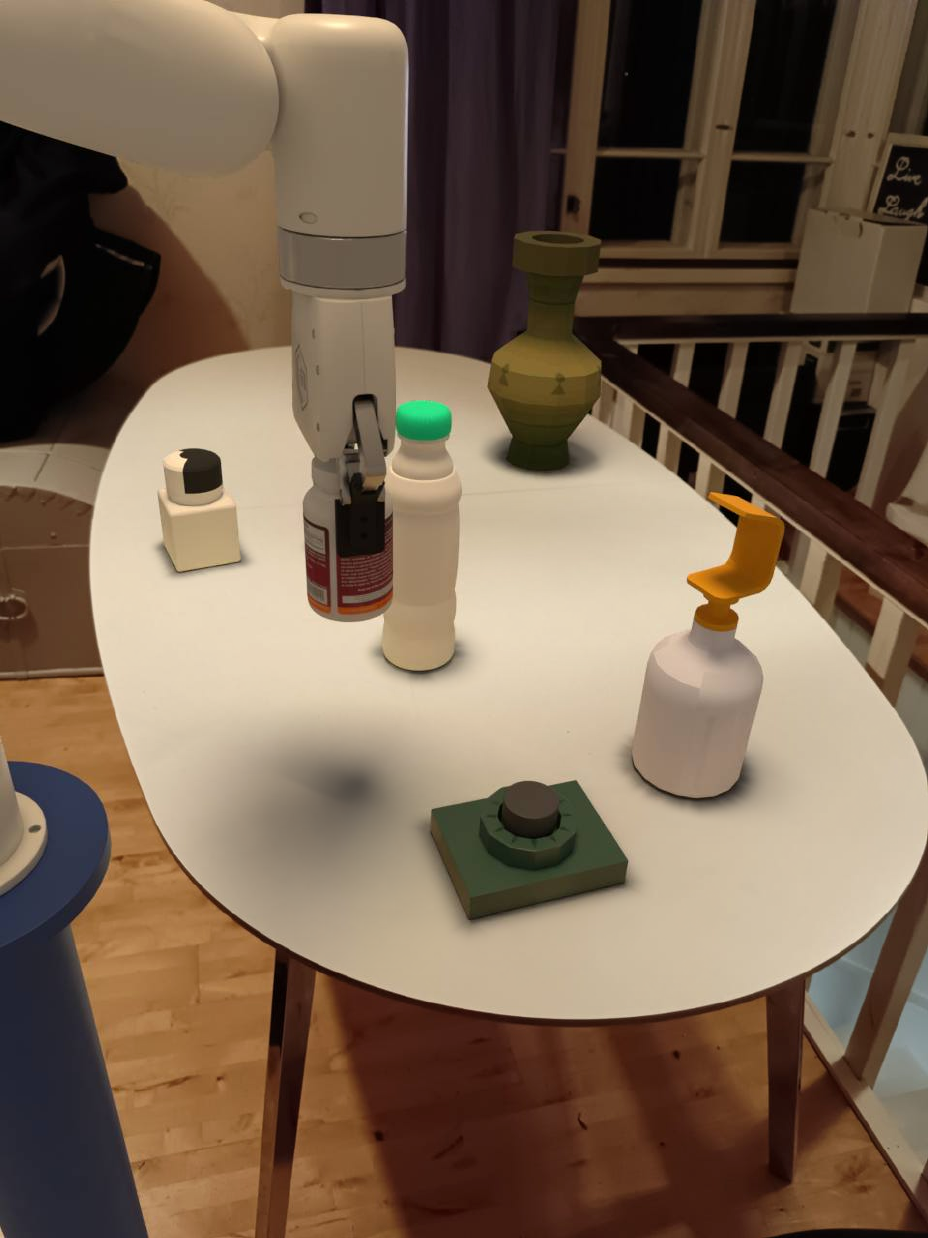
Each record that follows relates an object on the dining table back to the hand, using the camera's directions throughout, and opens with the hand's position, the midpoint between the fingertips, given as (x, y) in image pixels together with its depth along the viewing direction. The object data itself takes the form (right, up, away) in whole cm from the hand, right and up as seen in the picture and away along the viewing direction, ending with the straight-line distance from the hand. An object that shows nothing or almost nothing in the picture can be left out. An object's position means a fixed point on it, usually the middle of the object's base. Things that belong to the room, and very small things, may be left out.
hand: (348, 528), depth 66 cm
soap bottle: (+27, -19, +15) cm, 36 cm away
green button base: (+13, -24, +5) cm, 27 cm away
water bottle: (+4, -10, +27) cm, 29 cm away
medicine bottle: (-22, +1, +43) cm, 48 cm away
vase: (+19, +17, +72) cm, 76 cm away
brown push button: (+13, -21, +3) cm, 25 cm away
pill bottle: (0, -5, +3) cm, 6 cm away
